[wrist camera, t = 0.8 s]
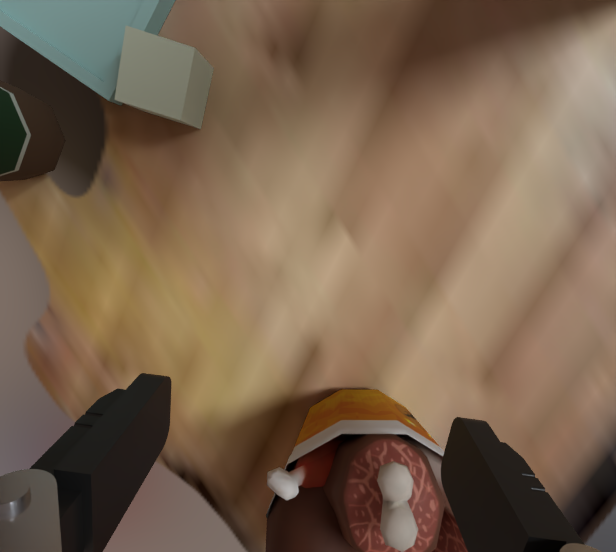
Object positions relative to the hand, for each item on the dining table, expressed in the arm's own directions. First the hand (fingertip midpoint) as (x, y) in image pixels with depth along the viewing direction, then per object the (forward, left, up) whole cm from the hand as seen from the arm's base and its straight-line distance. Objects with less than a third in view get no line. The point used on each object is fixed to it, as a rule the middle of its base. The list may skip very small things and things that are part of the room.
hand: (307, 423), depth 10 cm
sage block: (-5, -17, -25) cm, 31 cm away
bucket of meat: (+14, +15, -25) cm, 33 cm away
